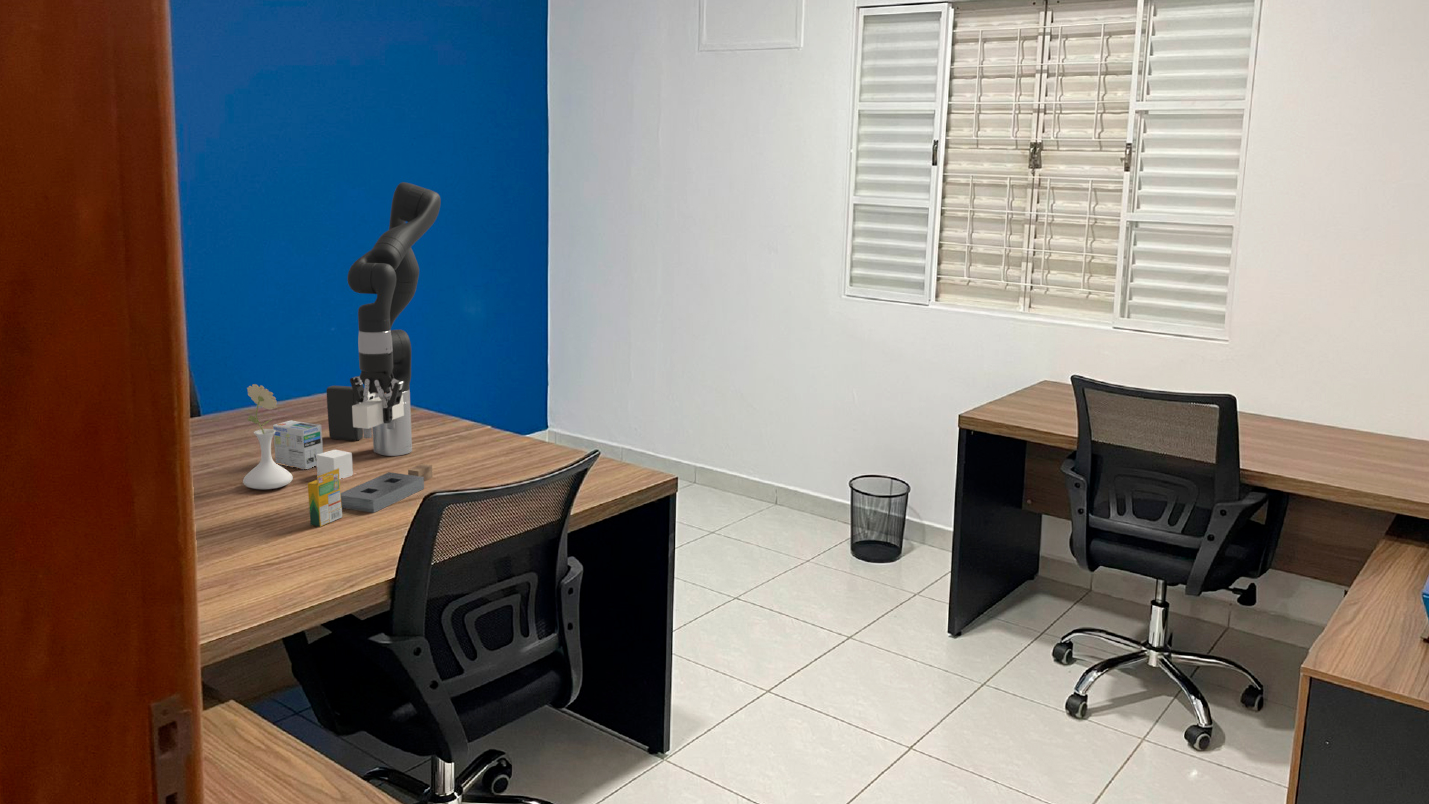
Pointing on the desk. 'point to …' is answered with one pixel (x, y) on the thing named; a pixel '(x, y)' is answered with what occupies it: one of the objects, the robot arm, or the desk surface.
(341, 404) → the black upright block
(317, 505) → the crayon box
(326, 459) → the white cube
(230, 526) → the desk surface
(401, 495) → the mounting plate
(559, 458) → the desk surface
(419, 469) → the walnut stand
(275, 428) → the light bulb box
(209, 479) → the desk surface
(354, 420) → the white plug-in block
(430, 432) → the desk surface
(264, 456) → the flower in vase
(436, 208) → the robot arm
